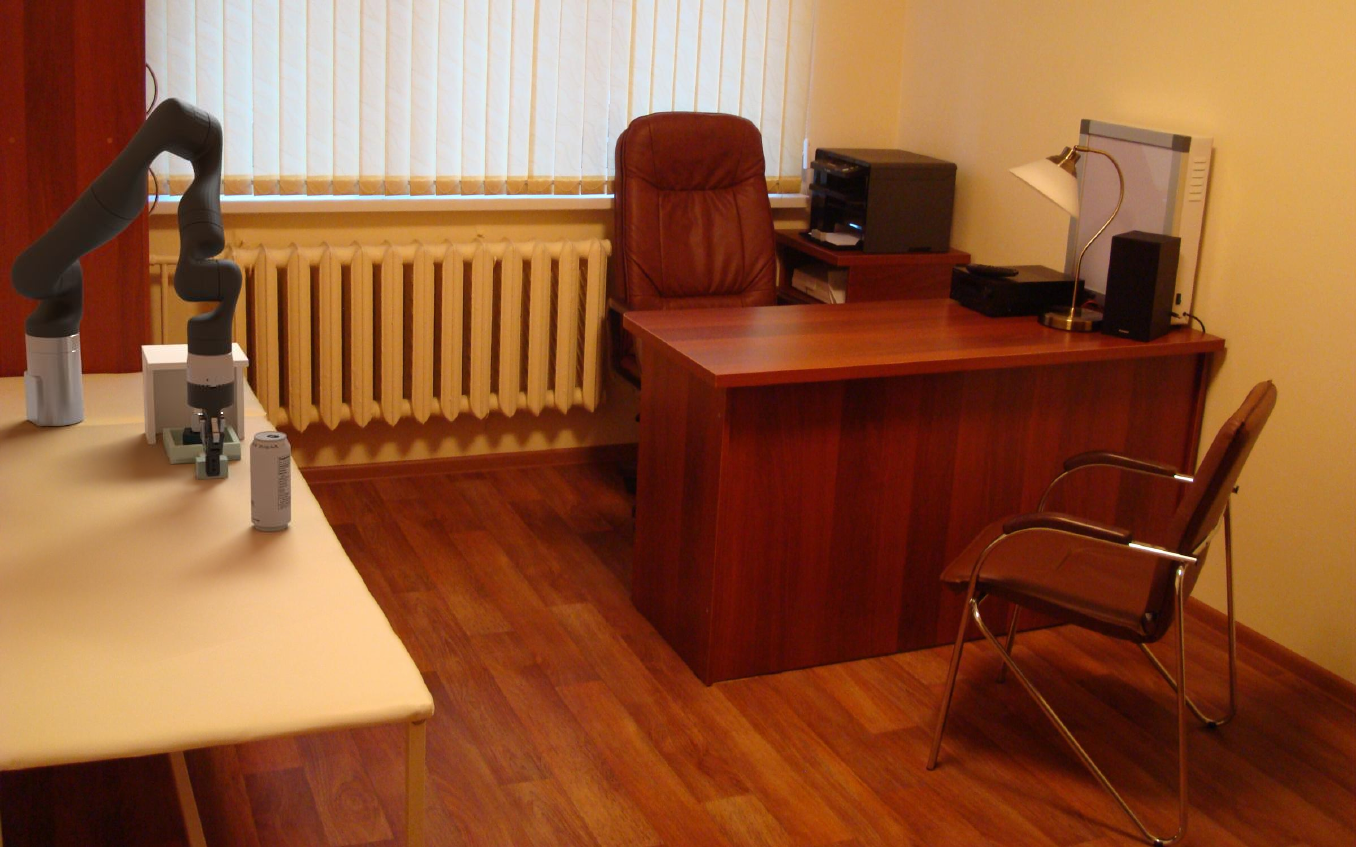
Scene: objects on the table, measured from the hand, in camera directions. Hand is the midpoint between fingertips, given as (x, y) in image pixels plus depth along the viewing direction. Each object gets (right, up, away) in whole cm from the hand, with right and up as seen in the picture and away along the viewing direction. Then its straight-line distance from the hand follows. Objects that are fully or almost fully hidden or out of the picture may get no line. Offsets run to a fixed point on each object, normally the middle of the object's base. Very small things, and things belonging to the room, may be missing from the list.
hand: (212, 474), depth 219 cm
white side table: (-11, +6, +21) cm, 25 cm away
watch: (-8, +4, +15) cm, 18 cm away
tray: (-5, +2, +11) cm, 13 cm away
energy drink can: (+15, -8, -17) cm, 24 cm away
